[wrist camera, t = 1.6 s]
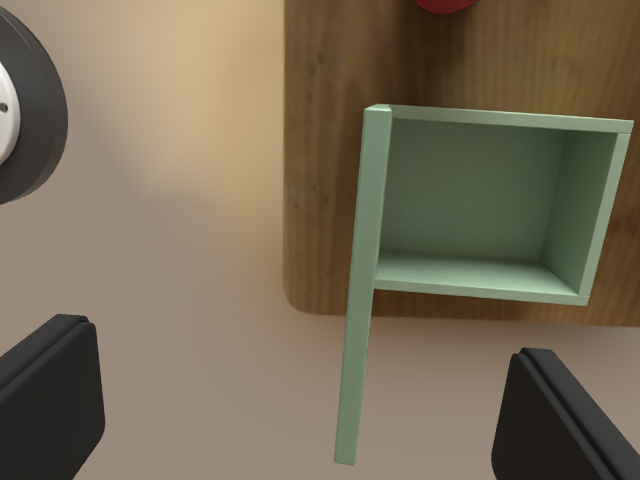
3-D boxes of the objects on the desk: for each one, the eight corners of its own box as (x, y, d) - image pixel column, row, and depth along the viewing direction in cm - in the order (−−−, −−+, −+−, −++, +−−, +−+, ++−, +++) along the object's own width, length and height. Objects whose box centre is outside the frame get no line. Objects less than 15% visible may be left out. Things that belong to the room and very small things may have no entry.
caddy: (575, 116, 36) (634, 120, 28) (542, 267, 40) (587, 306, 32) (375, 103, 37) (381, 104, 29) (361, 253, 40) (363, 288, 33)
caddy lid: (392, 109, 13) (364, 107, 13) (355, 467, 17) (333, 463, 17) (388, 105, 29) (375, 104, 29) (369, 291, 32) (358, 290, 32)
